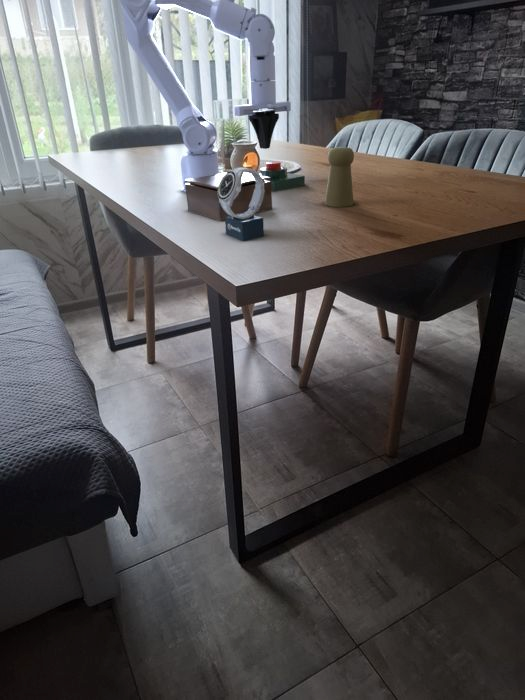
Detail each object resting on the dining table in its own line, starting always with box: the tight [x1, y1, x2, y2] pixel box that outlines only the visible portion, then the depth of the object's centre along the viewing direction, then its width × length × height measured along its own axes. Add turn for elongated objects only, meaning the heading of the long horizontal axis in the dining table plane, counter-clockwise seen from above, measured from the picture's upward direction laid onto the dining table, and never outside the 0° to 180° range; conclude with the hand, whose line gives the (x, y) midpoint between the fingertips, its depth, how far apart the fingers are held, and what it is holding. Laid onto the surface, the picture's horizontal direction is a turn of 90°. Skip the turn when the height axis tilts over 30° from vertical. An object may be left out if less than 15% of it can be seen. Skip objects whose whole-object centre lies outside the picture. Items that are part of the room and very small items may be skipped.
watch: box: [217, 166, 265, 242], centre depth 81 cm, size 6×8×11 cm
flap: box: [212, 171, 271, 184], centre depth 99 cm, size 6×12×1 cm, turn 39°
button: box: [265, 160, 282, 170], centre depth 119 cm, size 4×4×2 cm
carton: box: [185, 175, 273, 222], centre depth 99 cm, size 13×12×6 cm
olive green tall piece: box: [324, 146, 355, 208], centre depth 99 cm, size 6×6×11 cm
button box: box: [258, 165, 306, 192], centre depth 121 cm, size 12×10×4 cm
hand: (264, 148), depth 112 cm, fingers closed
